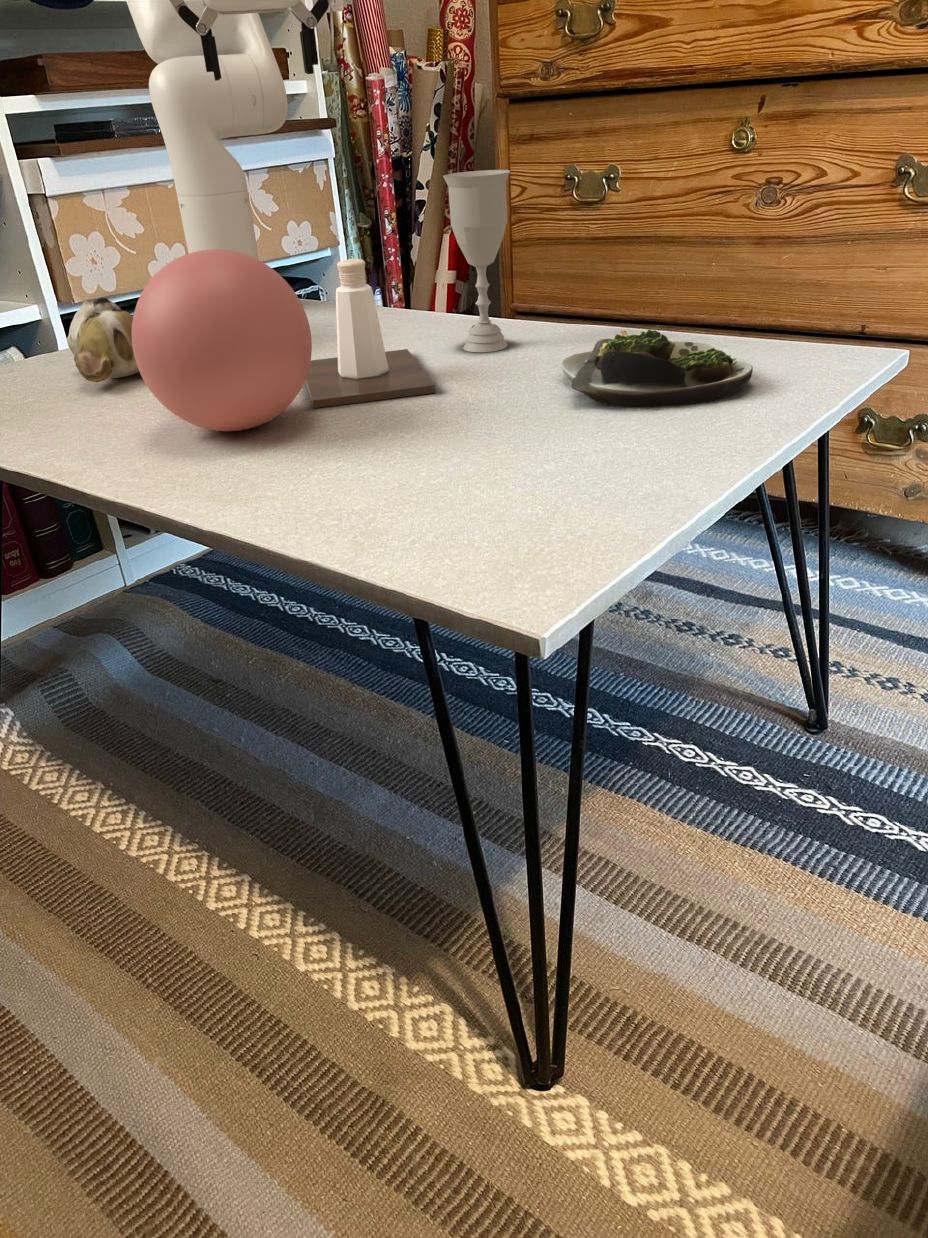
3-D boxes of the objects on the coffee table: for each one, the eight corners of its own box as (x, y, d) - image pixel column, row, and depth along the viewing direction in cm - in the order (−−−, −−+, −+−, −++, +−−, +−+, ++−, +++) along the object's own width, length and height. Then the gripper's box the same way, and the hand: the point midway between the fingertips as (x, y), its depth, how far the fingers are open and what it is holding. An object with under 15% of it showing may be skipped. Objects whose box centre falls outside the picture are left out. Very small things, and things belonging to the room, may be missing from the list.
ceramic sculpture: (126, 278, 111) (174, 302, 101) (142, 352, 116) (190, 382, 105) (33, 294, 106) (74, 321, 96) (54, 371, 111) (95, 404, 100)
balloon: (266, 383, 100) (240, 228, 93) (351, 427, 85) (328, 245, 78) (120, 415, 93) (79, 249, 86) (184, 468, 78) (142, 273, 71)
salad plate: (529, 365, 100) (527, 320, 98) (689, 346, 102) (691, 302, 100) (583, 417, 83) (582, 365, 81) (773, 394, 86) (778, 342, 83)
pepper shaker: (327, 373, 99) (313, 262, 94) (371, 362, 102) (359, 254, 97) (354, 382, 95) (340, 267, 90) (399, 371, 98) (388, 258, 93)
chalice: (480, 357, 104) (470, 177, 95) (442, 348, 109) (429, 176, 100) (529, 344, 108) (524, 170, 99) (490, 336, 113) (482, 169, 104)
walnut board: (301, 368, 105) (300, 361, 104) (408, 355, 107) (407, 348, 106) (313, 408, 91) (312, 400, 91) (435, 392, 93) (435, 384, 93)
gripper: (319, -121, 97) (341, 72, 105) (146, -115, 94) (182, 83, 102) (326, -137, 90) (349, 70, 99) (140, -131, 88) (179, 81, 96)
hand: (264, 76), depth 101 cm, fingers open, 9 cm apart
